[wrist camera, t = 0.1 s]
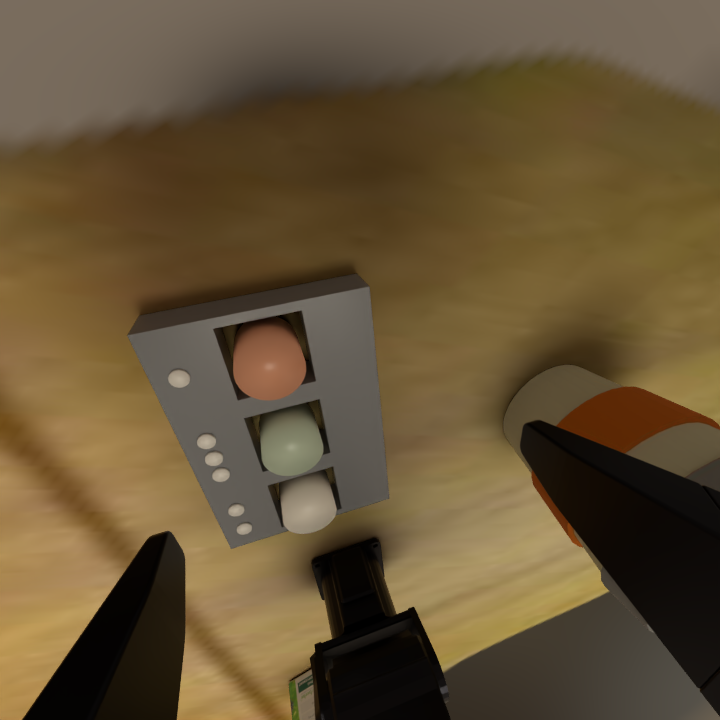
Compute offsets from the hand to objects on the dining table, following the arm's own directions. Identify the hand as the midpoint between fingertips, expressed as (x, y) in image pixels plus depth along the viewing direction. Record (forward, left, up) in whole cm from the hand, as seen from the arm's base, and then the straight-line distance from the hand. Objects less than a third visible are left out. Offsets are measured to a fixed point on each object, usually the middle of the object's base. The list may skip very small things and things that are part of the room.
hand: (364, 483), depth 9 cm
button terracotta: (-2, +2, -13) cm, 14 cm away
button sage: (-8, +2, -13) cm, 16 cm away
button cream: (-14, +2, -14) cm, 20 cm away
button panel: (-8, +2, -14) cm, 17 cm away
